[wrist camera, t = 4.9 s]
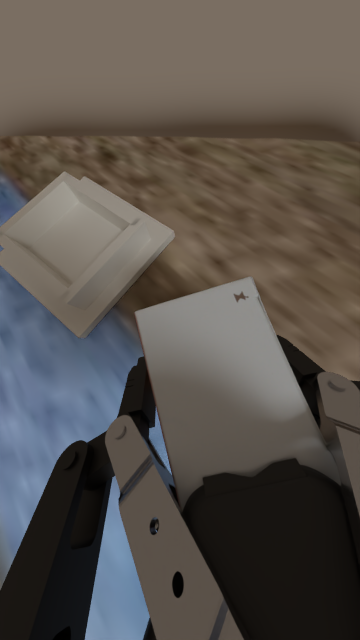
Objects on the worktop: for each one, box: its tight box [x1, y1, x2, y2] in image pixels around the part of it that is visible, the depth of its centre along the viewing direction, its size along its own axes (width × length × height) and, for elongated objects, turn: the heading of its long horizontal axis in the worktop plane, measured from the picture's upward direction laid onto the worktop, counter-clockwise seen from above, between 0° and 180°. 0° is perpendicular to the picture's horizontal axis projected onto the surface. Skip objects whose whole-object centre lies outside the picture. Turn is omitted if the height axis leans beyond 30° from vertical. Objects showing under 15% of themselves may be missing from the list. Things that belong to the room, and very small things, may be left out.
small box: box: [134, 277, 341, 511], centre depth 10 cm, size 8×6×10 cm
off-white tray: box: [0, 171, 175, 338], centre depth 17 cm, size 18×18×4 cm
